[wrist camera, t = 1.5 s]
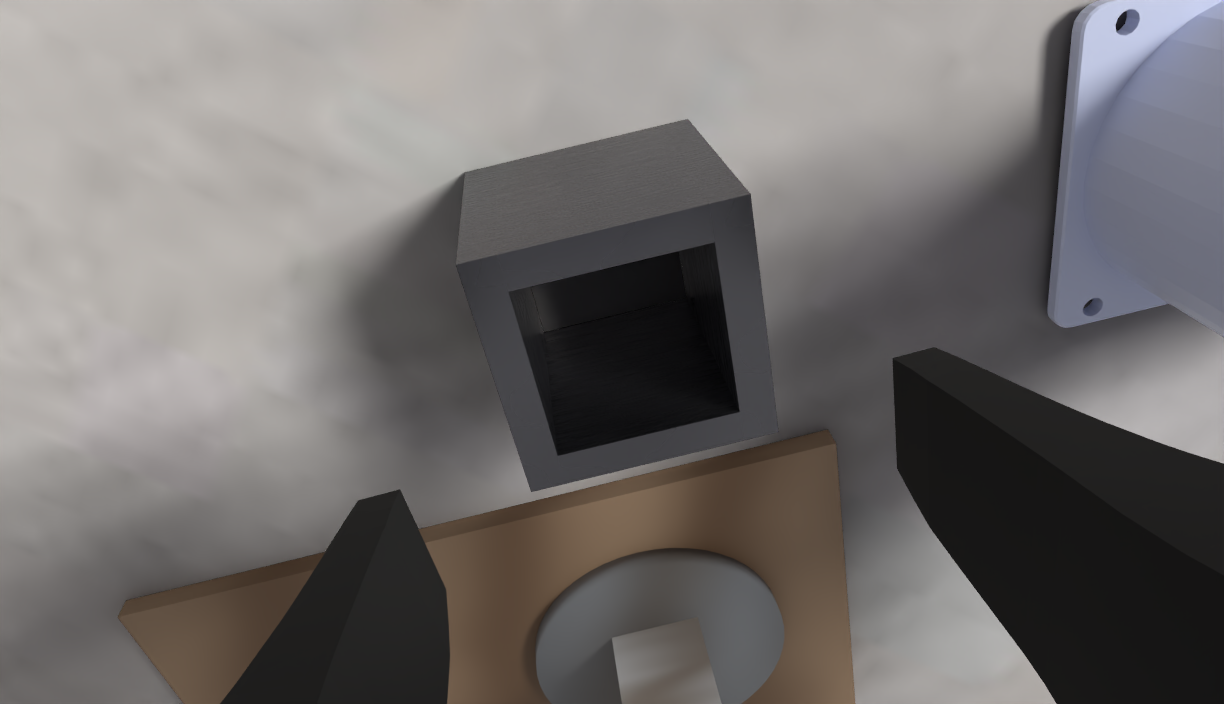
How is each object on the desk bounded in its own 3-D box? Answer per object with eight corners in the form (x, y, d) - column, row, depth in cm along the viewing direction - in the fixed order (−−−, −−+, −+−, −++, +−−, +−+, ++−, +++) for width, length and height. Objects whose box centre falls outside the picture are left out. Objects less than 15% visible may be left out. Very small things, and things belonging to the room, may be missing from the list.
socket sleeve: (688, 118, 18) (750, 194, 13) (717, 315, 20) (778, 432, 16) (464, 172, 18) (456, 264, 13) (523, 362, 20) (531, 491, 16)
